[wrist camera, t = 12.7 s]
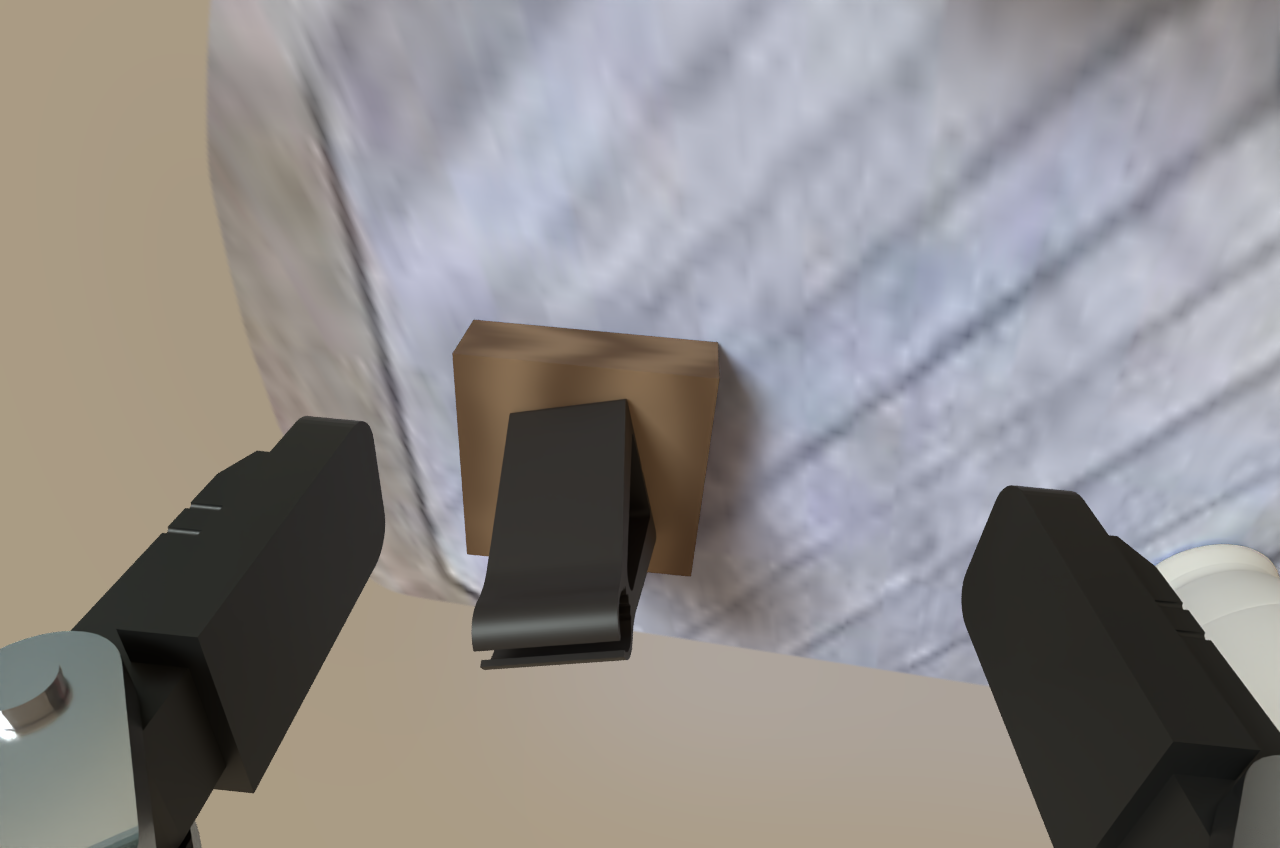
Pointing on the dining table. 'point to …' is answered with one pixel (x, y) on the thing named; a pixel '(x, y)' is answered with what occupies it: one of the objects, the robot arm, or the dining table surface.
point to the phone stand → (566, 540)
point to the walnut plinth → (579, 374)
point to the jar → (1235, 611)
